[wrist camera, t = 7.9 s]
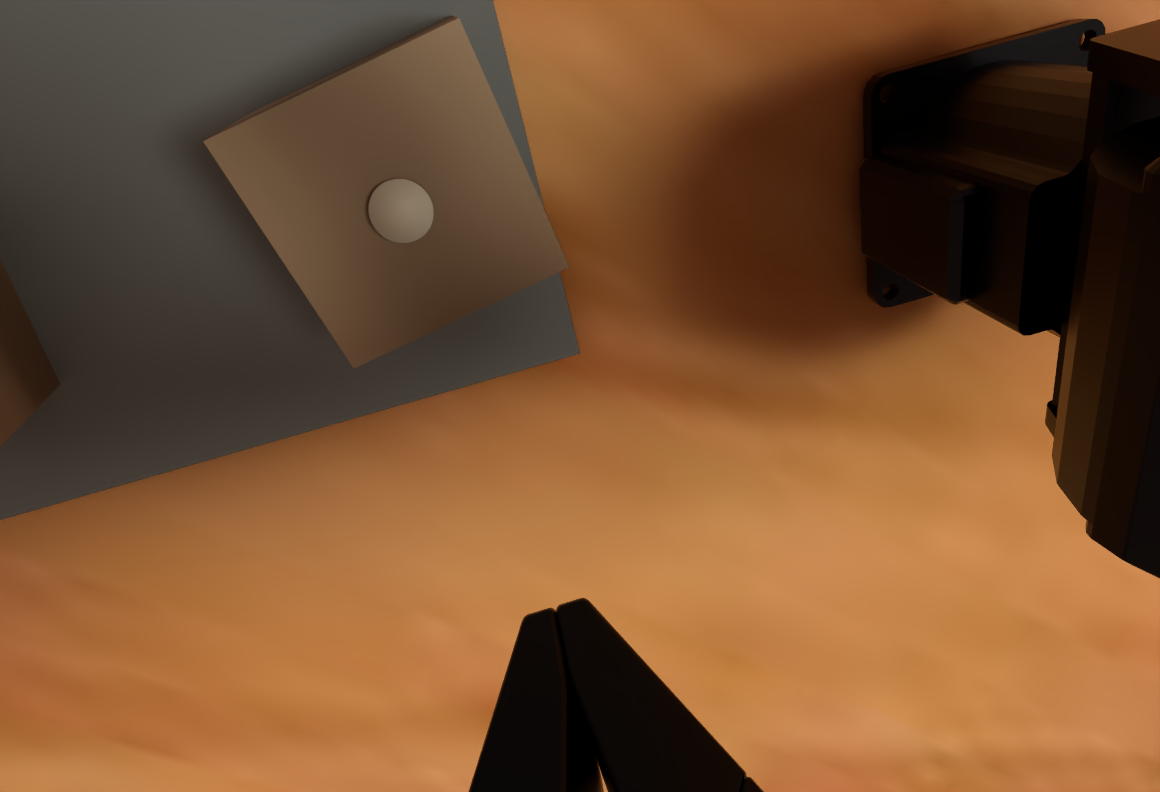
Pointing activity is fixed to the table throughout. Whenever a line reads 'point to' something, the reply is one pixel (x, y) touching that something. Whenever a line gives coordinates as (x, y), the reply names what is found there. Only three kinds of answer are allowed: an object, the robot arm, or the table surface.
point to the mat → (199, 238)
